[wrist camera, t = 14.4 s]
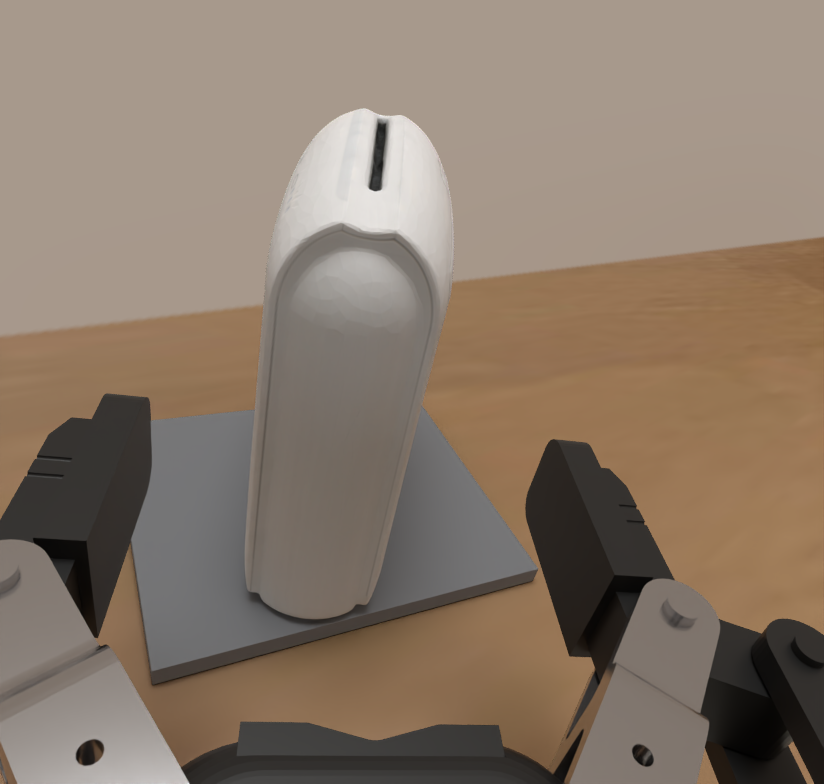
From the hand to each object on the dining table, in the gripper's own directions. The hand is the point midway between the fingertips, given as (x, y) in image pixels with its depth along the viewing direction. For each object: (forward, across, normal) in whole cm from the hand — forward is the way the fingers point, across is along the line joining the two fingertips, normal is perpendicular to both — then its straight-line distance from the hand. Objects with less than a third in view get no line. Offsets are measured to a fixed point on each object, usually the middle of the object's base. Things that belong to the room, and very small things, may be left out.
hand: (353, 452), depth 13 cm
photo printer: (+6, 0, +8) cm, 10 cm away
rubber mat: (+6, 0, +8) cm, 10 cm away
